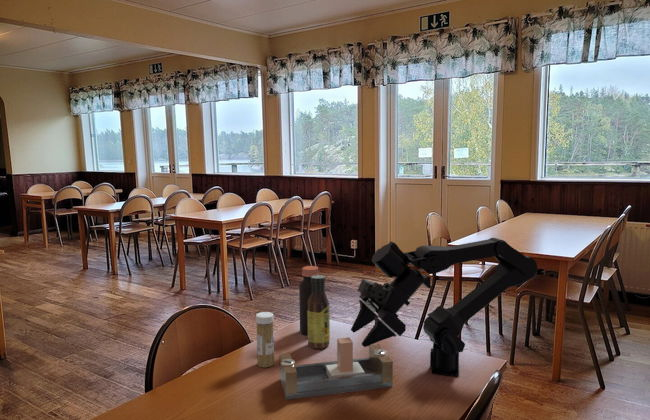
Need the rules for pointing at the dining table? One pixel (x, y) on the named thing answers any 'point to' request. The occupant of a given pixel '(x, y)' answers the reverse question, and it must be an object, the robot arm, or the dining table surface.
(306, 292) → the vinegar
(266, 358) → the sprinkles bottle
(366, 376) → the rail
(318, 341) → the sauce bottle
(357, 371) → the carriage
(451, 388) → the dining table surface
